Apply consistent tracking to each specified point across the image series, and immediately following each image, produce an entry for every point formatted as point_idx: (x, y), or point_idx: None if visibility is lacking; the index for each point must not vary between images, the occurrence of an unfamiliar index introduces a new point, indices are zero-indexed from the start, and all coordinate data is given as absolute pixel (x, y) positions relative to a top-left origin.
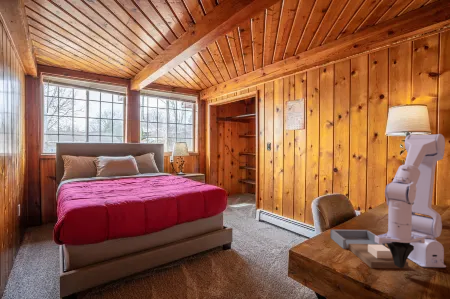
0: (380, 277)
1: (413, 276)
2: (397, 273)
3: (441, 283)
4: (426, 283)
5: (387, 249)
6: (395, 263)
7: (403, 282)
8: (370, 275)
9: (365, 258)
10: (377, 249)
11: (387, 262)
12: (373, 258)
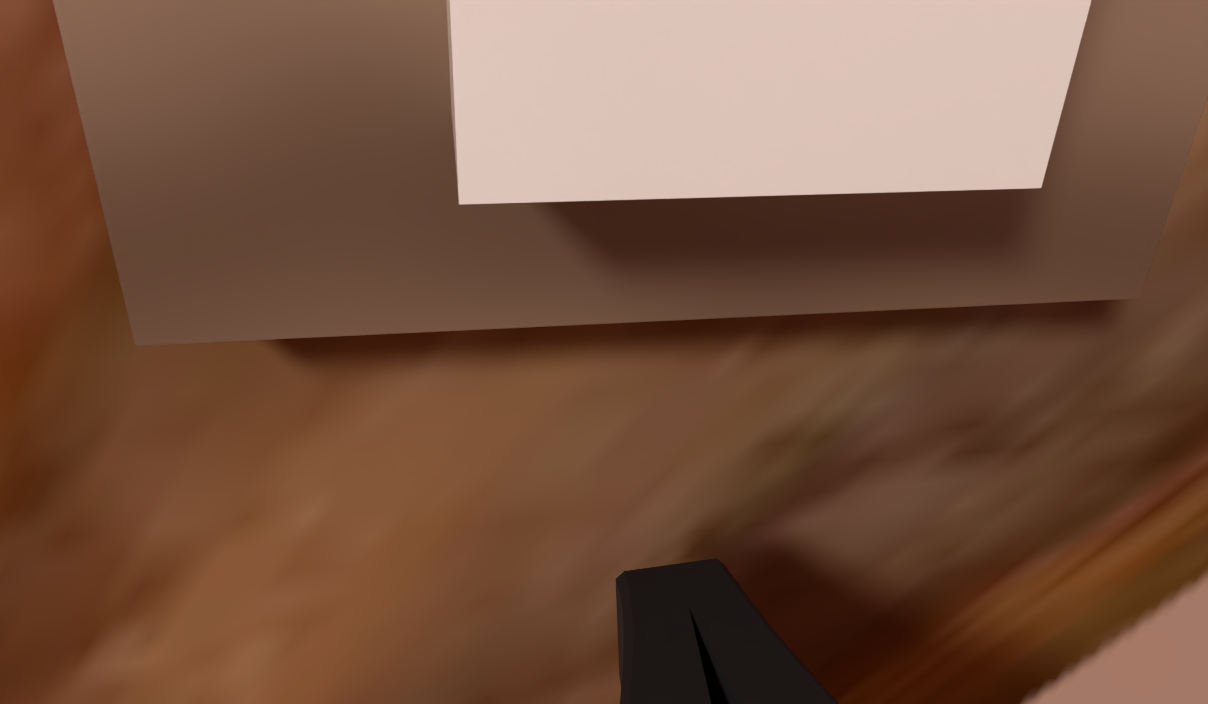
0: (204, 591)
1: (865, 499)
2: (651, 435)
3: (1095, 622)
4: (877, 649)
5: (993, 55)
6: (620, 633)
7: (534, 670)
8: (20, 553)
9: (79, 53)
10: (561, 78)
11: (614, 318)
12: (320, 140)
